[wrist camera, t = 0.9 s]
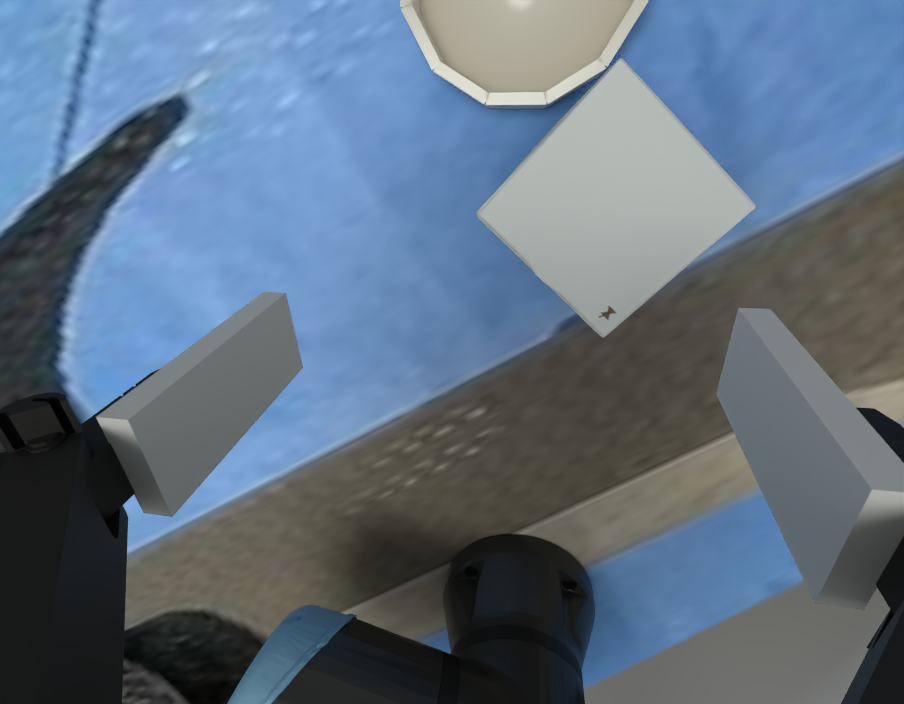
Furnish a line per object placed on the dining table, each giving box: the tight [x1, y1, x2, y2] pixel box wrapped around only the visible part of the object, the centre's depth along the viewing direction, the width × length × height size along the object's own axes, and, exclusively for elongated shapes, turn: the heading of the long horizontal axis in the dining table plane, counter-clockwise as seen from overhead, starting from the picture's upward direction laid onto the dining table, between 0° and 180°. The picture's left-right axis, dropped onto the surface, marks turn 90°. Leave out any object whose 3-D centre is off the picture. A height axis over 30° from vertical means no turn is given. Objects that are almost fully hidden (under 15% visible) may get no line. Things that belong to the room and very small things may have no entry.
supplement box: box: [476, 58, 756, 337], centre depth 29 cm, size 9×9×15 cm
